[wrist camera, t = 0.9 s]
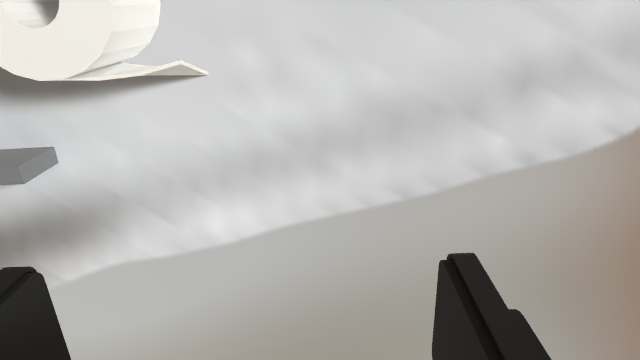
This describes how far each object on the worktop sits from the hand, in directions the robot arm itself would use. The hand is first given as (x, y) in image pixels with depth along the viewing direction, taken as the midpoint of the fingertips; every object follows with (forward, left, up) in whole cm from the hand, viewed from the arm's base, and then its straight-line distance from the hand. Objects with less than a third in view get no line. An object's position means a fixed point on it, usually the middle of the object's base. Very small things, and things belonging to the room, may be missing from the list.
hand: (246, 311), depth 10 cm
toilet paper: (-6, -11, -22) cm, 25 cm away
